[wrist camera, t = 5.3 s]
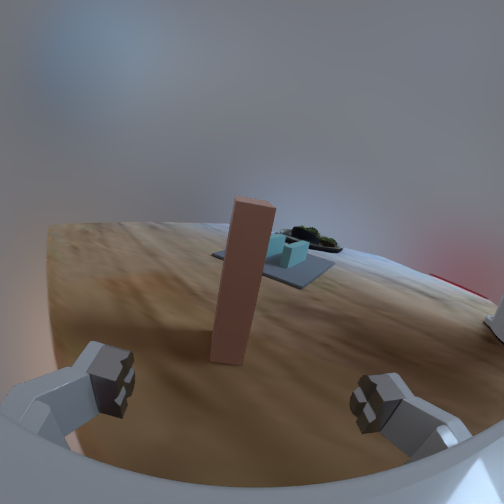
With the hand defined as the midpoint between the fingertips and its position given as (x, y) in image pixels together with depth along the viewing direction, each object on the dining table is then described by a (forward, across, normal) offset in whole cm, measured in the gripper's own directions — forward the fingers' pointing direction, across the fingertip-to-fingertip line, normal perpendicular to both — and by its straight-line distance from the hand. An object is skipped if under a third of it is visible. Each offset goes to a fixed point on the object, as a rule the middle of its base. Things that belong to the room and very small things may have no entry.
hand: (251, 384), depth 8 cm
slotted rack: (+40, -10, +7) cm, 42 cm away
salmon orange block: (+12, 0, +7) cm, 14 cm away
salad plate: (+62, -21, +8) cm, 66 cm away
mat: (+40, -10, +7) cm, 42 cm away
